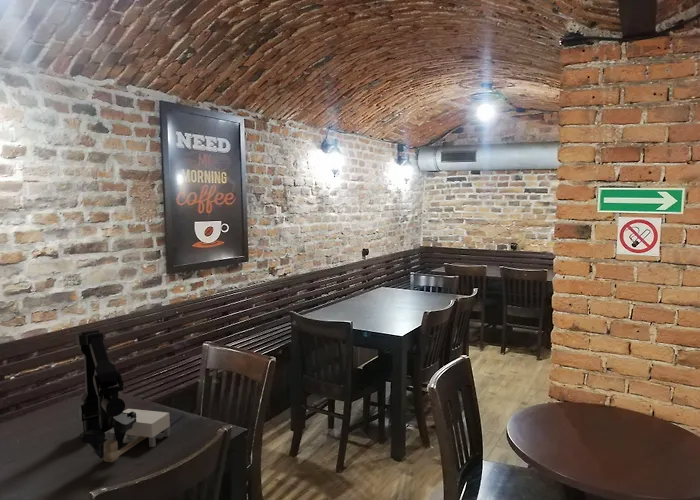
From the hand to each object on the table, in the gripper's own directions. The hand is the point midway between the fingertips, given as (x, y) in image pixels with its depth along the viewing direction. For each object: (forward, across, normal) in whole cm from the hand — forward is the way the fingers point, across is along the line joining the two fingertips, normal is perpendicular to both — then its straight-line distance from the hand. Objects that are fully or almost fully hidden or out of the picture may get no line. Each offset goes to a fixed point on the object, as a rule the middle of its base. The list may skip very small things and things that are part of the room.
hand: (111, 452), depth 169 cm
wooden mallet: (+3, +9, +3) cm, 10 cm away
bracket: (+3, +30, +4) cm, 30 cm away
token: (+3, +14, +4) cm, 15 cm away
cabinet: (+2, +16, +1) cm, 16 cm away
